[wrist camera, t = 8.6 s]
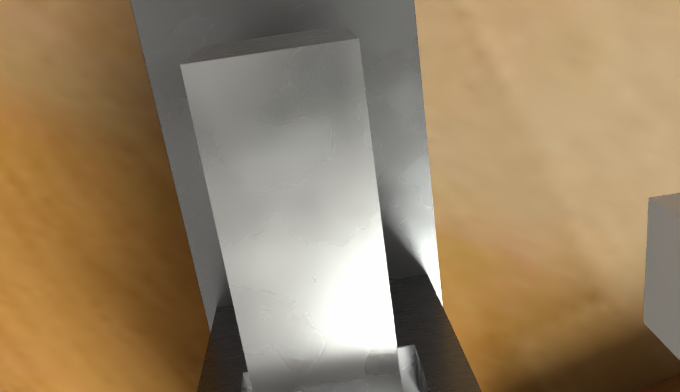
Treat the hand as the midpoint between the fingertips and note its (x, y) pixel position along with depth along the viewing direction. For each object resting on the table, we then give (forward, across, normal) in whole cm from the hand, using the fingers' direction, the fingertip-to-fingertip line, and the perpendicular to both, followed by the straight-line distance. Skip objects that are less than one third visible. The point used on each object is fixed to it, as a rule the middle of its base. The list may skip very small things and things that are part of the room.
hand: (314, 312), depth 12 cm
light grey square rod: (+8, 0, -9) cm, 11 cm away
